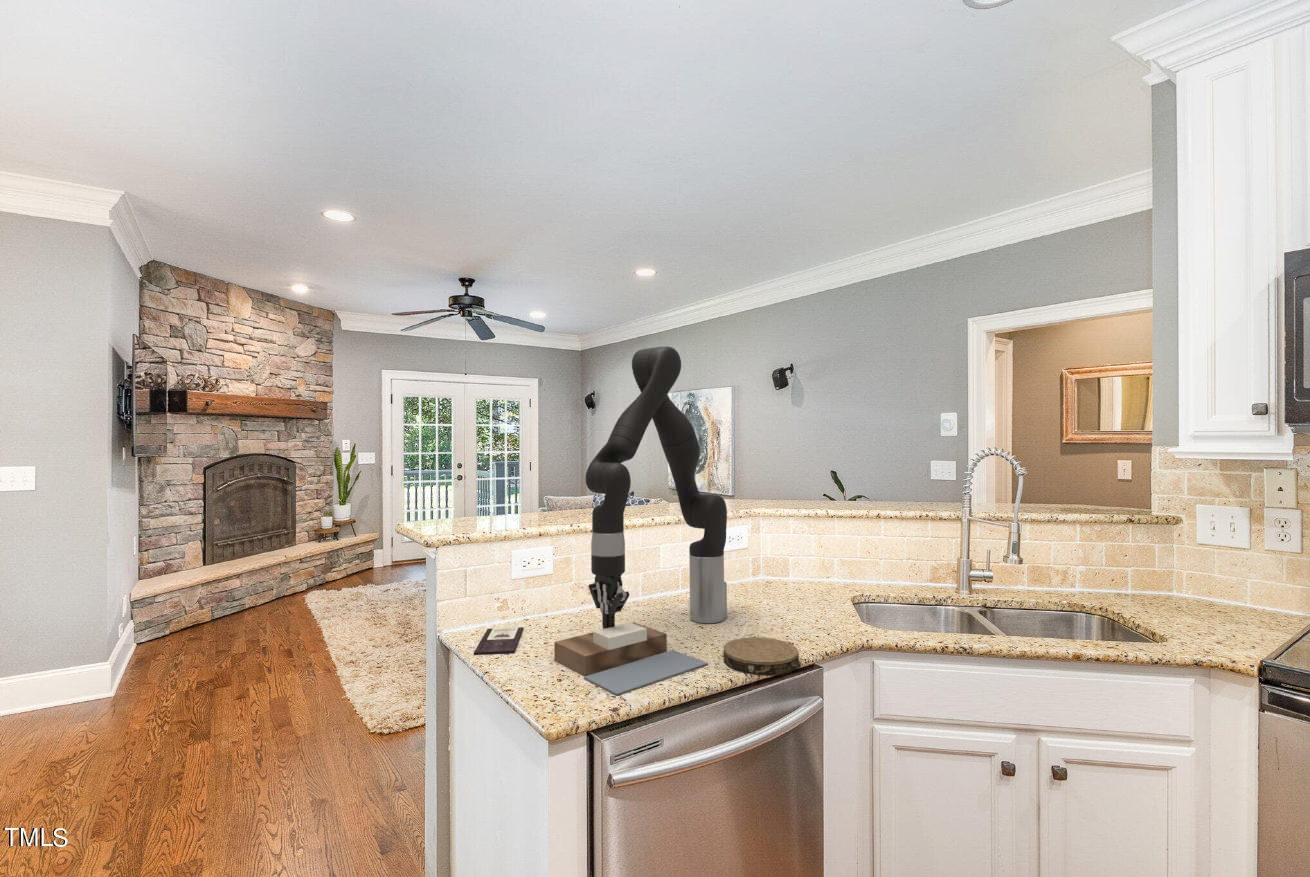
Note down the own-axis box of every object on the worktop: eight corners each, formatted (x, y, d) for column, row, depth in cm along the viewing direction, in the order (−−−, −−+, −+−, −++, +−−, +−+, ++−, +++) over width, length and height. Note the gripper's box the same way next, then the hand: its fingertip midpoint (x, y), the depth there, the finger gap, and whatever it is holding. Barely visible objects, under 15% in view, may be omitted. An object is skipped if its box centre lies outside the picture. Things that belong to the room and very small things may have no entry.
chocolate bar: (473, 652, 136) (487, 628, 154) (473, 657, 136) (487, 632, 154) (514, 651, 137) (523, 627, 155) (514, 655, 137) (523, 631, 155)
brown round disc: (814, 664, 129) (813, 650, 129) (765, 683, 119) (765, 668, 119) (756, 645, 142) (756, 632, 142) (708, 661, 132) (708, 647, 132)
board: (633, 638, 146) (633, 622, 146) (666, 651, 137) (666, 633, 137) (554, 660, 132) (554, 641, 132) (585, 676, 123) (585, 656, 123)
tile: (630, 633, 137) (630, 622, 137) (646, 640, 133) (646, 628, 133) (593, 642, 131) (593, 631, 131) (609, 650, 126) (608, 638, 126)
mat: (673, 651, 137) (673, 649, 137) (707, 664, 129) (707, 663, 129) (583, 678, 121) (583, 676, 121) (616, 695, 113) (616, 693, 113)
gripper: (639, 554, 133) (640, 633, 133) (604, 546, 143) (605, 620, 143) (611, 558, 128) (612, 640, 128) (577, 550, 138) (578, 626, 138)
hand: (608, 629), depth 135 cm, fingers closed
